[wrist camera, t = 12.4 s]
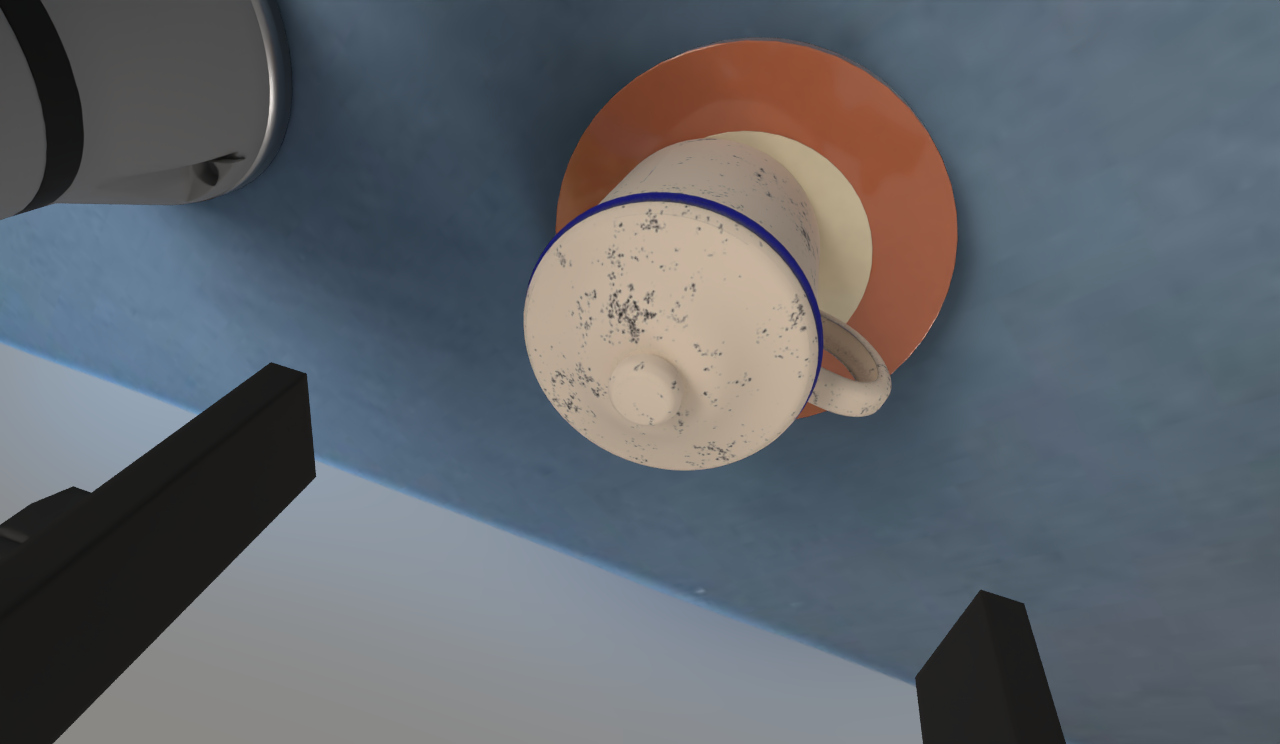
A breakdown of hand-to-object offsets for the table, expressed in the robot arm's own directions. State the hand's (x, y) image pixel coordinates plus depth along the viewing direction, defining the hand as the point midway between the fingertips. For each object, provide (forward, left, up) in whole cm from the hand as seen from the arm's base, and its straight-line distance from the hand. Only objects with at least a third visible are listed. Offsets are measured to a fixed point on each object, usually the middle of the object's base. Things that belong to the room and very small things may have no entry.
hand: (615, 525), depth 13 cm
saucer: (+1, -1, -19) cm, 19 cm away
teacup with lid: (+1, -1, -17) cm, 17 cm away
